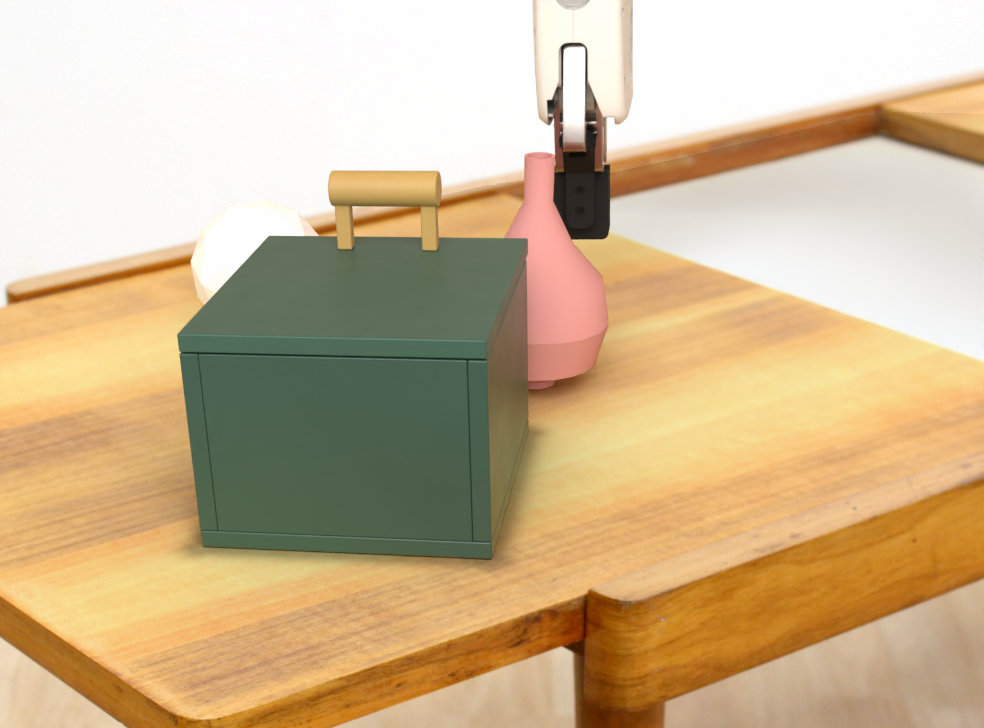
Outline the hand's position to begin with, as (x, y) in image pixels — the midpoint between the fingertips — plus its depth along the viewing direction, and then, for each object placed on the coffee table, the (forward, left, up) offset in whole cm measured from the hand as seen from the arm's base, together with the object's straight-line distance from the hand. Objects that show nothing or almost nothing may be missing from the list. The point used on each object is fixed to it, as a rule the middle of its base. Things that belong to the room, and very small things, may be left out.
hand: (582, 235), depth 91 cm
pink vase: (+2, +12, -5) cm, 13 cm away
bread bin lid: (+7, +26, +4) cm, 27 cm away
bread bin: (+7, +26, -5) cm, 27 cm away
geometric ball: (+18, +5, -5) cm, 20 cm away
